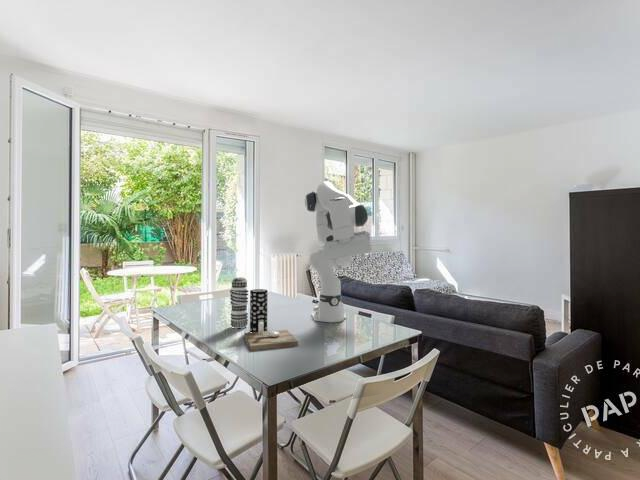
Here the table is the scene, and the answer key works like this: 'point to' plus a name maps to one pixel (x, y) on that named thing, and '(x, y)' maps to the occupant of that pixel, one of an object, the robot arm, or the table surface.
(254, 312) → the spotted tube
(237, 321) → the decorative candle
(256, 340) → the dial board
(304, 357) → the table surface
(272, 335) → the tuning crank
